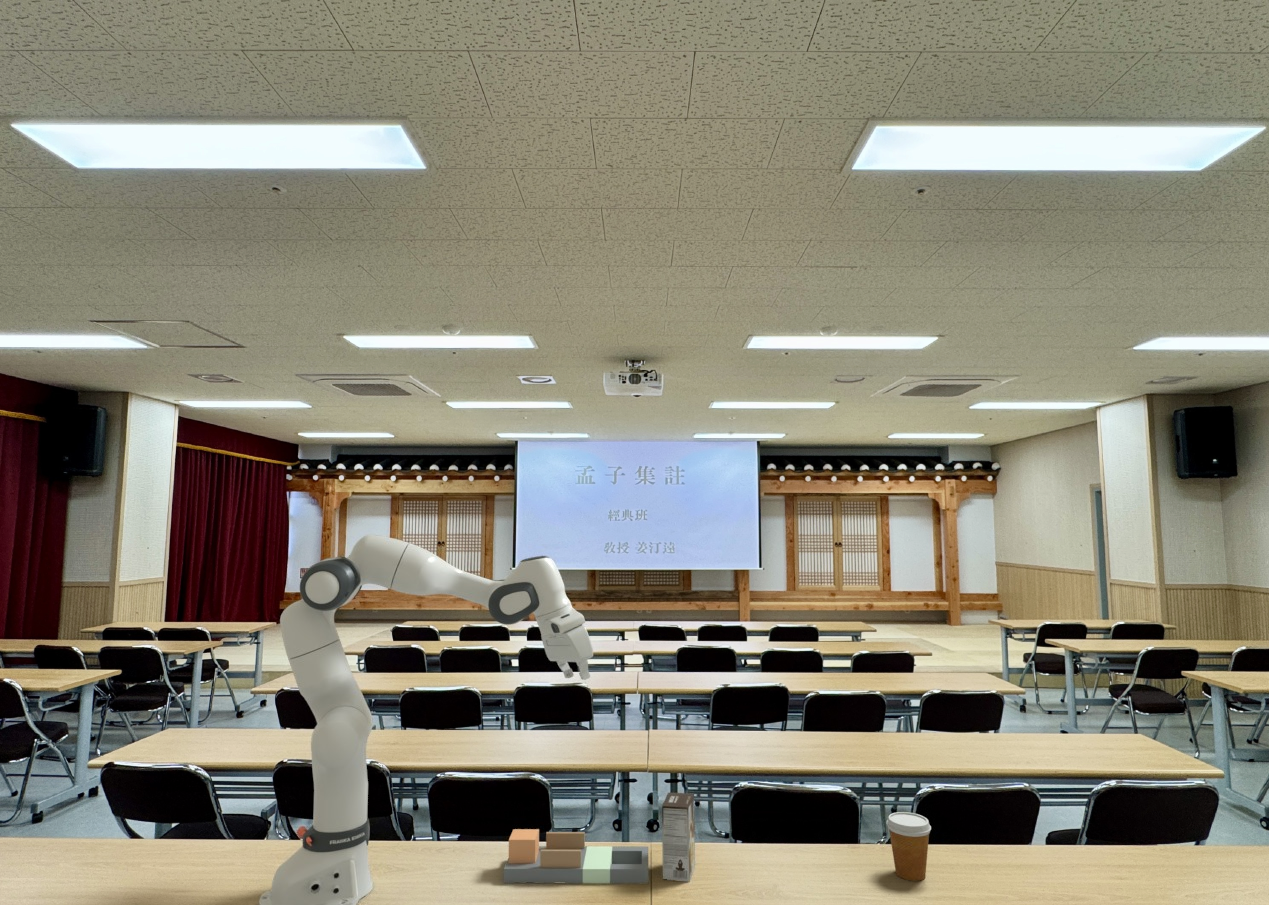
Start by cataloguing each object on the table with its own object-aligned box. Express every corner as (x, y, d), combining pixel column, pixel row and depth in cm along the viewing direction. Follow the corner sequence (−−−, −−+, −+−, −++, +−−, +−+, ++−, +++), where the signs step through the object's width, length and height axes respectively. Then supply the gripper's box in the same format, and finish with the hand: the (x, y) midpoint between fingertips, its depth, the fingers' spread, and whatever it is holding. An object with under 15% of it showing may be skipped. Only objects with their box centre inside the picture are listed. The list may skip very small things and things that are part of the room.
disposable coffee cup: (882, 865, 176) (880, 811, 177) (923, 865, 176) (921, 811, 177) (896, 884, 166) (894, 827, 167) (940, 884, 166) (937, 827, 167)
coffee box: (668, 862, 178) (667, 791, 179) (695, 864, 176) (694, 792, 178) (662, 880, 169) (661, 805, 170) (690, 882, 168) (689, 807, 169)
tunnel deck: (503, 883, 168) (504, 852, 168) (513, 859, 180) (513, 830, 180) (648, 883, 167) (648, 852, 168) (648, 859, 179) (648, 830, 180)
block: (508, 862, 171) (508, 839, 171) (513, 851, 177) (513, 829, 177) (535, 862, 171) (535, 839, 171) (538, 851, 177) (539, 829, 177)
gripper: (529, 627, 184) (549, 682, 184) (562, 625, 167) (583, 685, 166) (552, 617, 187) (571, 670, 187) (586, 614, 170) (607, 673, 169)
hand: (577, 678), depth 176 cm, fingers open, 8 cm apart
